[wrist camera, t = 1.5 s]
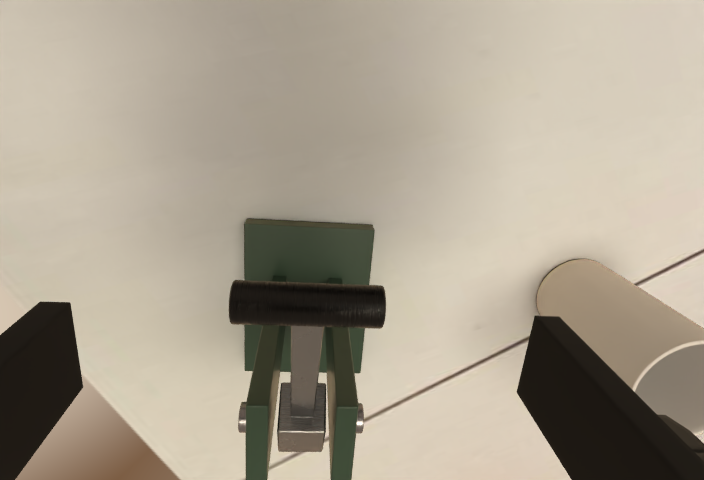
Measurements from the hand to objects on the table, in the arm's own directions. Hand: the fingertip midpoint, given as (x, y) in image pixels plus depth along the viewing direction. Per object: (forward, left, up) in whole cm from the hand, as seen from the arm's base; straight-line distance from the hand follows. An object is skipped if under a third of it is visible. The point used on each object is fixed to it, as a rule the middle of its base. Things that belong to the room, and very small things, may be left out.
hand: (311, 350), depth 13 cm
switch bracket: (+7, +5, -20) cm, 22 cm away
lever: (+3, +2, -6) cm, 7 cm away
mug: (-5, +23, -20) cm, 31 cm away
